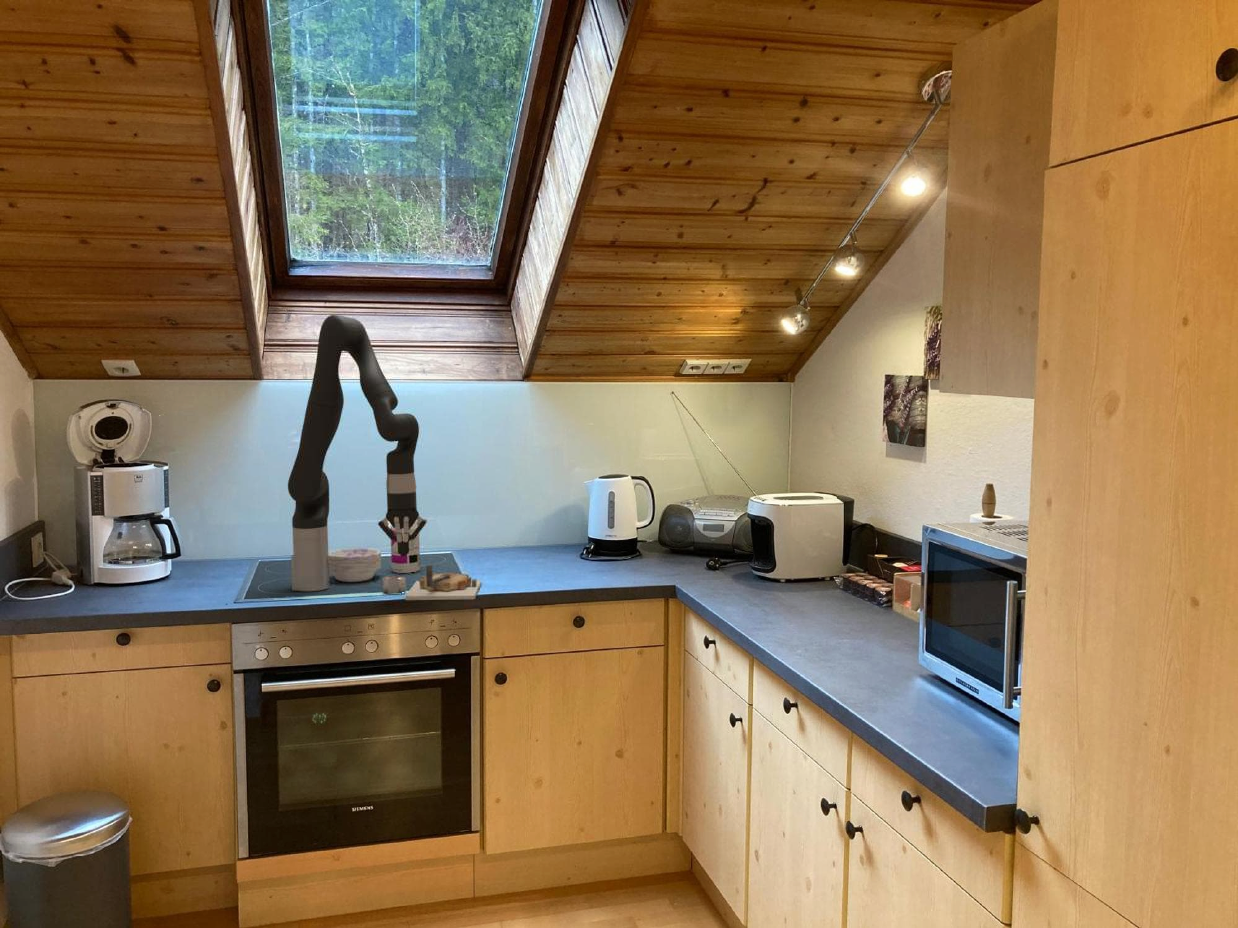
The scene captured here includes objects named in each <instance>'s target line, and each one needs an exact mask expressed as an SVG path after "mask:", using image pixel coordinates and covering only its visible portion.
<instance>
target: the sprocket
mask: <svg viewBox="0 0 1238 928" xmlns="http://www.w3.org/2000/svg"><path fill="white" fill-rule="evenodd" d="M425 570H426V571H425V572H426V573H425V575H423V576H421V577H420V579H419V580H418V581H419V582H420V588H426V589H427V590H431V591H433V590H443V591H450V590H453V589H464V588H466V586H471V580H472V577H471V576H469V574H465V573H464V574H461V573H456V572H449V573H433V564H427V565H425Z"/></svg>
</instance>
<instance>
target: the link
mask: <svg viewBox="0 0 1238 928" xmlns="http://www.w3.org/2000/svg"><path fill="white" fill-rule="evenodd" d="M406 589H407V588H406V577H405V576H397V575H395V576H394V575H393V576H384V577H382V593H383V594H384V593H385V595H388V594H389V595H391V594H392V593H393V594H394V593H401V594H403V593H402V592H405V593H406V591H407V590H406ZM390 593H391V594H390ZM393 594H392V595H393ZM394 595H395V594H394Z"/></svg>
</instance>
